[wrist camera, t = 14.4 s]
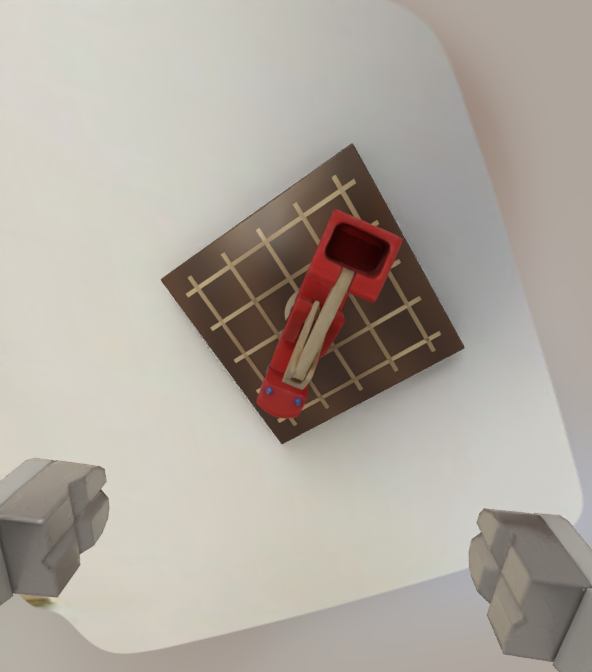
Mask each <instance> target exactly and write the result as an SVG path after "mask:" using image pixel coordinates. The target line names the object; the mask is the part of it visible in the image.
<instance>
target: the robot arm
mask: <svg viewBox="0 0 592 672" xmlns="http://www.w3.org/2000/svg"><path fill="white" fill-rule="evenodd" d="M106 482H107V481H106V475H105V469H104V468H102V467H100V466H95V465H88V464H80V463H73V462H66V461H58V460H56V461H54V460H47V459H40V458H33V459H29V460H26V461H25V462H24V463H22V464H21V465H20V466H19V467H17V468H16V469H15V470H14V471H12V472H11V473H10V474H9V475H7V476H6V477H5V478H4V479H2V480H1V481H0V605H1V604H3V603H4V602H6V601H7V600H8V599H10V598H11V597H12V596H13V593H15V594H25V595H36V596H47V597H58V596H59V594H60V593H61V592H62V590H63V589H64V587H65V586H66V585H67V583H68V582H69V580H70V579H71V577H72V576H73V575H74V573H75V572H76V570H77V569H78V568H79V566H80V554H81V553H83V552H84V551H86V550H87V549H89V548H91V547H92V546H94V545H95V543H96V542H97V540H98V539H99V537H100V536H101V534H102V533H103V530H104V527H105V525H106V522H107V520H108V515H109V498H108V497H107V496H106V495H105V493H104V492H103V491H102V490H101V488H102V487H103V486H104V484H105V483H106ZM477 525H478V527H479V529H480V531H481V533H480V534H478V535H477V536H476V537H474V538H473V539H472V540H471V544H470V548H469V568H470V572H471V576H472V580H473V582H474V585H475V587H476V590H477V592H478V593H479V594H480V595H482V597H483V598H484V599H485V600H486V601H488V602H489V603H490V606H489V610H488V613H487V616H488V619H489V621H490V623H491V626H492V628H493V630H494V633H495V635H496V637H497V640H498V642H499V645H500V647H501V649H502V652H503V654H506V655H512V656H518V657H524V658H531V659H537V660H543V661H551V662H553V666H554V667H555V668H556V669H557V670H558V671H559V672H592V549H591V548H590V547H589V545H588V544H587V543H586V542H585V541H584V539H583V538H582V537H581V536H580V535H579V533H578V532H577V531H576V530H575V529H574V527H573V526H572V525H571V524H570V522H569V521H568V520H566V519H565V518H563V517H562V516H560V515H550V514H539V513H534V514H532V513H524V512H515V511H505V510H495V509H485V508H484V509H483V510H482V511H481V512H480V514H479V517H478V520H477Z"/></svg>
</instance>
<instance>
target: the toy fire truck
mask: <svg viewBox="0 0 592 672" xmlns="http://www.w3.org/2000/svg"><path fill="white" fill-rule="evenodd" d="M402 242H403V239H402V238H400V237H399V236H397V235H395V234H393V233H391V232H388V231H386V230H384V229H382V228H379V227H376V226H374V225H372V224H370V223H367V222H365V221H363V220H361V219H358V218H356V217H353V216H351V215H349V214H346V213H344V212H342V211H340V210H337V209H335V210H334V211H333V212H332V215H331V217H330V219H329V221H328V223H327V226H326V228H325V231H324V232H323V235H322V238H321V239H320V242H319V244H318V247H317V250H316V252H315V254H314V257H313V259H312V262H311V264H310V266H309V268H308V270H307V272H306V275H305V278H304V281H303V283H302V284H301V286H300V288H299V290H298V293H297V296H296V298H295V303H294V305H293V306H292V307H291V309H290V312H289V314H288V317H287V319H286V322H285V323H286V326H285V327H284V330H283V332H282V334H281V337H280V339H279V342H278V344H277V347H276V349H275V352H274V355H273V357H272V360H271V361H270V363H269V365H268V368H267V370H266V373H265V376H264V378H265V379H264V380H263V382H262V385H261V388H260V391H259V395H258V397H257V404H258V405H259V406H260V407H261V408H262V409H263V410H264V411H266V412H267V413H269V414H270V415H272V416H274V417H277V418H284V419H289V418H296V417H298V416H299V414H300V413H301V411H302V408H303V407H304V404H305V402H306V400H307V394H308V385H309V382H310V380H311V379H312V377H313V374H314V371H315V369H316V367H317V364H318V362H319V360H320V358H321V356H324V355H325V354H326V353H327V351H328V349H329V348H330V346H331V345H332V343H333V341H334V340H335V338H336V336H337V335H338V333H339V331H340V330H341V327H342V326H343V324H344V322H345V319H344V314H343V312H342V310H343V307H344V304H345V302H346V300H347V297H348V295H349V293H350V294H352V295H355V296H357V297H359V298H362V299H364V300H366V301H368V302H372V303H373V302H375V301H376V300H377V298H378V297H379V294H380V292H381V289H382V288H383V285H384V283H385V281H386V279H387V277H388V274H389V272H390V270H391V267H392V265H393V264H394V261H395V258H396V256H397V253H398V252H399V250H400V247H401V244H402Z"/></svg>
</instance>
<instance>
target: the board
mask: <svg viewBox="0 0 592 672" xmlns="http://www.w3.org/2000/svg"><path fill="white" fill-rule="evenodd" d="M335 209H337V210H340V211H342V212H344V213H346V214H349V215H351V216H353V217H356V218H358V219H361V220H363V221H365V222H367V223H370V224H372V225H374V226H376V227H379V228H382V229H384V230H386V231H388V232H391V233H393V234H395V235H397V236H399V237H400V238H402V239H403V242H402V244H401V247H400V250H399V252H398V253H397V256H396V258H395V261H394V264H393V265H392V267H391V270H390V272H389V274H388V277H387V279H386V281H385V283H384V285H383V288H382V289H381V292H380V294H379V297H378V298H377V300H376V301H375V302H373V303H372V302H368V301H366V300H364V299H362V298H359V297H357V296H355V295H352V294H350V293H349V295H348V297H347V300H346V302H345V304H344V307H343V310H342V312H343V314H344V319H345V322H344V324H343V326H342V327H341V330H340V331H339V333H338V335H337V336H336V338H335V340H334V341H333V343H332V345H331V346H330V348H329V349H328V351H327V353H326V354H325V355H324V356H321V358H320V360H319V362H318V364H317V367H316V369H315V371H314V374H313V377H312V379H311V380H310V382H309V385H308V394H307V400H306V402H305V404H304V407H303V408H302V411H301V413H300V414H299V416H298V417H296V418H289V419H284V418H277V417H274V416H272V415H270V414H269V413H267V412H266V411H264V410H263V409H262V408H261V407H260V406H259V405H258V404H257V397H258V395H259V391H260V388H261V385H262V382H263V380H264V379H265V378H264V376H265V373H266V370H267V368H268V365H269V363H270V361H271V360H272V357H273V355H274V352H275V349H276V347H277V344H278V342H279V339H280V337H281V334H282V332H283V330H284V327H285V326H286V323H285V322H286V319H287V317H288V314H289V312H290V309H291V307H292V306H293V305H294V303H295V298H296V296H297V293H298V290H299V288H300V286H301V284H302V283H303V281H304V278H305V275H306V272H307V270H308V268H309V266H310V264H311V262H312V259H313V257H314V254H315V252H316V250H317V247H318V244H319V242H320V239H321V238H322V235H323V232H324V231H325V228H326V226H327V223H328V221H329V219H330V217H331V215H332V212H333V211H334V210H335ZM161 281H162V282H163V284H164V285H165V286H166V288H167V289H168V290H169V292H170V293H171V295H172V296H173V297H174V299H175V300H176V301H177V303H178V304H179V305H180V307H181V308H182V309H183V311H184V312H185V314H186V315H187V316H188V318H189V319H190V320H191V322H192V323H193V324H194V326H195V327H196V328H197V330H198V331H199V333H200V334H201V335H202V337H203V338H204V339H205V341H206V342H207V343H208V345H209V346H210V347H211V349H212V350H213V351H214V353H215V354H216V356H217V357H218V358H219V360H220V361H221V362H222V364H223V365H224V366H225V368H226V369H227V370H228V372H229V373H230V375H231V376H232V377H233V379H234V380H235V381H236V383H237V384H238V385H239V387H240V388H241V389H242V391H243V392H244V394H245V395H246V396H247V398H248V399H249V400H250V402H251V403H252V404H253V406H254V407H255V408H256V410H257V411H258V412H259V414H260V415H261V417H262V418H263V419H264V421H265V422H266V423H267V425H268V426H269V427H270V429H271V430H272V431H273V433H274V434H275V436H276V437H277V438H278V440H279V441H280V442H281V444H283V443H285V442H287V441H289V440H291V439H293V438H295V437H297V436H299V435H301V434H302V433H304V432H306V431H308V430H310V429H312V428H314V427H316V426H318V425H320V424H321V423H323V422H325V421H327V420H329V419H331V418H333V417H335V416H337V415H339V414H340V413H342V412H344V411H346V410H348V409H350V408H352V407H354V406H356V405H357V404H359V403H361V402H363V401H365V400H367V399H369V398H371V397H373V396H375V395H376V394H378V393H380V392H382V391H384V390H386V389H388V388H390V387H392V386H394V385H395V384H397V383H399V382H401V381H403V380H405V379H407V378H409V377H411V376H413V375H414V374H416V373H418V372H420V371H422V370H424V369H426V368H428V367H430V366H432V365H433V364H435V363H437V362H439V361H441V360H443V359H445V358H447V357H449V356H451V355H452V354H454V353H456V352H458V351H460V350H462V349H464V345H463V343H462V342H461V340H460V338H459V336H458V334H457V332H456V331H455V329H454V327H453V325H452V323H451V321H450V320H449V318H448V316H447V314H446V312H445V310H444V309H443V307H442V305H441V303H440V301H439V300H438V298H437V296H436V294H435V292H434V290H433V289H432V287H431V285H430V283H429V281H428V279H427V278H426V276H425V274H424V272H423V270H422V269H421V267H420V265H419V263H418V261H417V259H416V258H415V256H414V254H413V252H412V250H411V248H410V247H409V245H408V243H407V241H406V239H405V238H404V236H403V234H402V232H401V230H400V228H399V227H398V225H397V223H396V221H395V219H394V217H393V216H392V214H391V212H390V210H389V208H388V206H387V205H386V203H385V201H384V199H383V197H382V196H381V194H380V192H379V190H378V188H377V186H376V185H375V183H374V181H373V179H372V177H371V175H370V174H369V172H368V170H367V168H366V166H365V165H364V163H363V161H362V159H361V157H360V155H359V154H358V152H357V150H356V148H355V146H354V144H350V145H349V146H347V147H346V148H345V149H343V150H342V151H340V152H339V153H338V154H336V155H335V156H333V157H332V158H331V159H329V160H328V161H326V162H325V163H324V164H322V165H321V166H319V167H318V168H317V169H315V170H314V171H312V172H311V173H309V174H308V175H307V176H305V177H304V178H302V179H301V180H300V181H298V182H297V183H295V184H294V185H293V186H291V187H290V188H288V189H287V190H286V191H284V192H283V193H281V194H280V195H279V196H277V197H276V198H274V199H273V200H272V201H270V202H269V203H267V204H266V205H264V206H263V207H262V208H260V209H259V210H257V211H256V212H255V213H253V214H252V215H250V216H249V217H248V218H246V219H245V220H243V221H242V222H241V223H239V224H238V225H236V226H235V227H234V228H232V229H231V230H229V231H228V232H226V233H225V234H224V235H222V236H221V237H219V238H218V239H217V240H215V241H214V242H212V243H211V244H210V245H208V246H207V247H205V248H204V249H203V250H201V251H200V252H198V253H197V254H196V255H194V256H193V257H191V258H190V259H188V260H187V261H186V262H184V263H183V264H181V265H180V266H179V267H177V268H176V269H174V270H173V271H172V272H170V273H169V274H167V275H166V276H165V277H163V278H162V279H161Z"/></svg>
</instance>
